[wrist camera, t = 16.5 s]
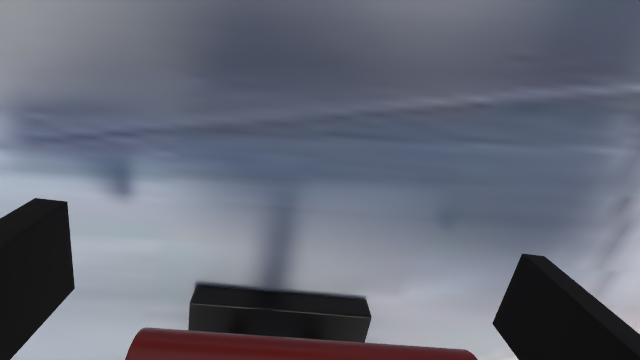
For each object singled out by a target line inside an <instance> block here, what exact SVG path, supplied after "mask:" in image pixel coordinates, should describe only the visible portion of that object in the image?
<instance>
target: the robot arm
mask: <svg viewBox="0 0 640 360" xmlns="http://www.w3.org/2000/svg"><path fill="white" fill-rule="evenodd" d="M73 290H74V276H73V264H72V253H71V241H70V229H69V217H68V205H67V202H64V201H56V200H47V199H38V198H35V199H33V200H31V201H30V202H28V203H26V204H24V205H23V206H21V207H19V208H18V209H16V210H14V211H12V212H11V213H9V214H7V215H6V216H4V217H2V218H0V360H10V359H11V358H12V357H13V356H14V355H15V354H16V353H17V351H18V350H19V349H20V348H21V347H22V346H23V345H24V344H25V343H26V342H27V340H28V339H29V338H30V337H31V336H32V335H33V334H34V333H35V332H36V330H37V329H38V328H39V327H40V326H41V325H42V324H43V323H44V322H45V321H46V319H47V318H48V317H49V316H50V315H51V314H52V313H53V312H54V311H55V309H56V308H57V307H58V306H59V305H60V304H61V303H62V302H63V301H64V300H65V298H66V297H67V296H68V295H69V294H70V293H71V292H72V291H73ZM492 324H493V325H494V326H495V328H496V329H497V330H498V332H499V333H500V335H501V336H502V337H503V339H504V340H505V341H506V343H507V344H508V346H509V347H510V348H511V350H512V351H513V352H514V354H515V355H516V356H517V358H518V359H519V360H640V334H638V333H637V332H636V331H635V330H634V329H632V328H631V327H630V326H629V325H627V324H626V323H625V322H624V321H623V320H621V319H620V318H619V317H618V316H617V315H615V314H614V313H613V312H612V311H610V310H609V309H608V308H607V307H606V306H604V305H603V304H602V303H601V302H599V301H598V300H597V299H596V298H595V297H593V296H592V295H591V294H590V293H588V292H587V291H586V290H585V289H584V288H582V287H581V286H580V285H579V284H578V283H576V282H575V281H574V280H573V279H571V278H570V277H569V276H568V275H567V274H565V273H564V272H563V271H562V270H560V269H559V268H558V267H557V266H556V265H554V264H553V263H552V262H551V261H549V260H548V259H547V258H546V257H545V256H537V255H529V254H522V255H521V258H520V260H519V262H518V265H517V267H516V270H515V272H514V274H513V277H512V279H511V281H510V284H509V286H508V288H507V291H506V293H505V295H504V298H503V300H502V302H501V305H500V307H499V309H498V312H497V314H496V316H495V319H494V321H493V323H492Z"/></svg>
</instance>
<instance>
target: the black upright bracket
mask: <svg viewBox="0 0 640 360" xmlns="http://www.w3.org/2000/svg"><path fill="white" fill-rule="evenodd" d="M370 321H371V314H370V310H369V307H368V304H367V301H366V300H361V299H350V298H338V297H326V296H315V295H303V294H292V293H280V292H269V291H257V290H245V289H234V288H222V287H211V286H199V285H198V286H196V289H195V291H194V294H193V296H192V299H191V301H190V310H189V329H188V331H202V332H217V333H231V334H246V335H260V336H275V337H289V338H304V339H318V340H333V341H347V342H361V343H365V339H366V335H367V332H368V328H369V325H370Z"/></svg>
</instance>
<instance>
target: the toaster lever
mask: <svg viewBox="0 0 640 360" xmlns="http://www.w3.org/2000/svg"><path fill="white" fill-rule="evenodd" d="M125 360H477V358H476V357H475V356H474V355H473V354H472V353H471V352H469V351H467V350H463V349H448V348H434V347H419V346H405V345H390V344H376V343H361V342H347V341H333V340H318V339H304V338H289V337H275V336H260V335H246V334H231V333H217V332H202V331H188V330H173V329H159V328H143V329H141V330H140V331H139V332H138V333H137V335H136V336H135V338H134V340H133V342H132V344H131V346H130V348H129V350H128V353H127V356H126V359H125Z"/></svg>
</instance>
